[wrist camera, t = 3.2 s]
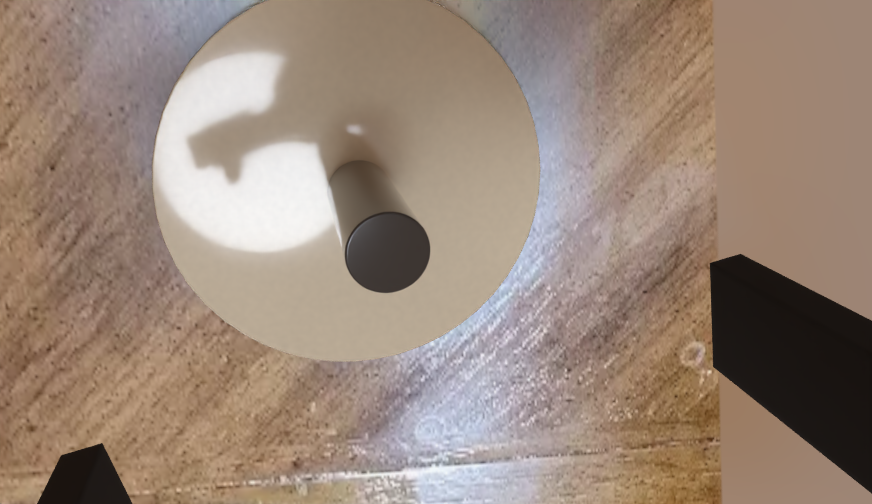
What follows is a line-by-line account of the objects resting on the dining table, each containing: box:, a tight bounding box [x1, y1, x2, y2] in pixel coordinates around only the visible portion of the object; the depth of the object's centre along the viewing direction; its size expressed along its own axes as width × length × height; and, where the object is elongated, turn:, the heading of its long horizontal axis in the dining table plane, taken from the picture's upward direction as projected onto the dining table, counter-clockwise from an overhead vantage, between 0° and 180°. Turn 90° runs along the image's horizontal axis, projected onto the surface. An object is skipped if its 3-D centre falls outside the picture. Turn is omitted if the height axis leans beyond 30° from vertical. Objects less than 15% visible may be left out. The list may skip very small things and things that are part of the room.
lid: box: [152, 0, 540, 361], centre depth 25 cm, size 17×17×9 cm
